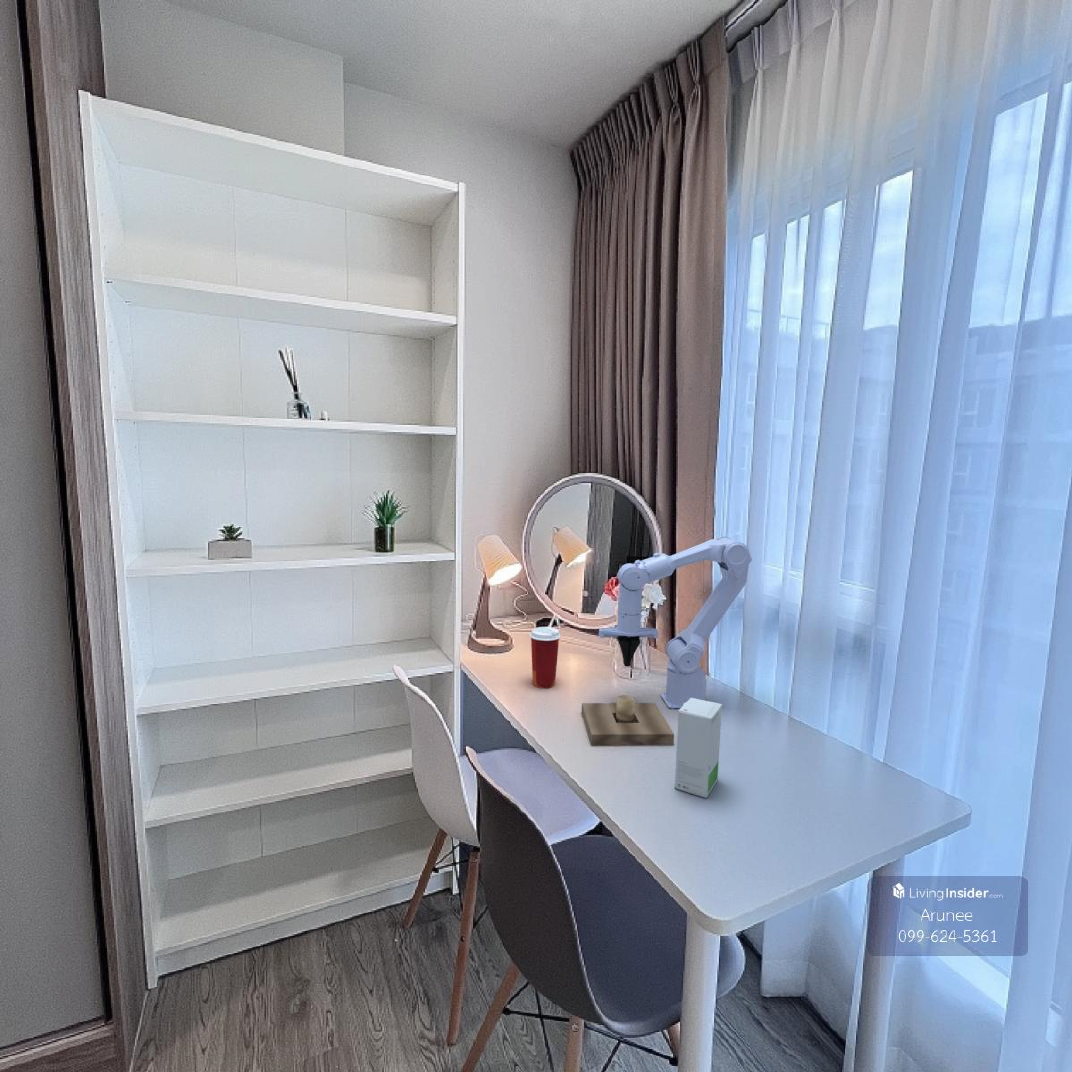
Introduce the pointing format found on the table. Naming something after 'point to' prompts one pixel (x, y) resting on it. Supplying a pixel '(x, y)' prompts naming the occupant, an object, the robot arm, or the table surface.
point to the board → (626, 725)
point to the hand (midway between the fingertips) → (626, 664)
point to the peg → (625, 709)
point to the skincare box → (698, 746)
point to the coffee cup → (544, 656)
